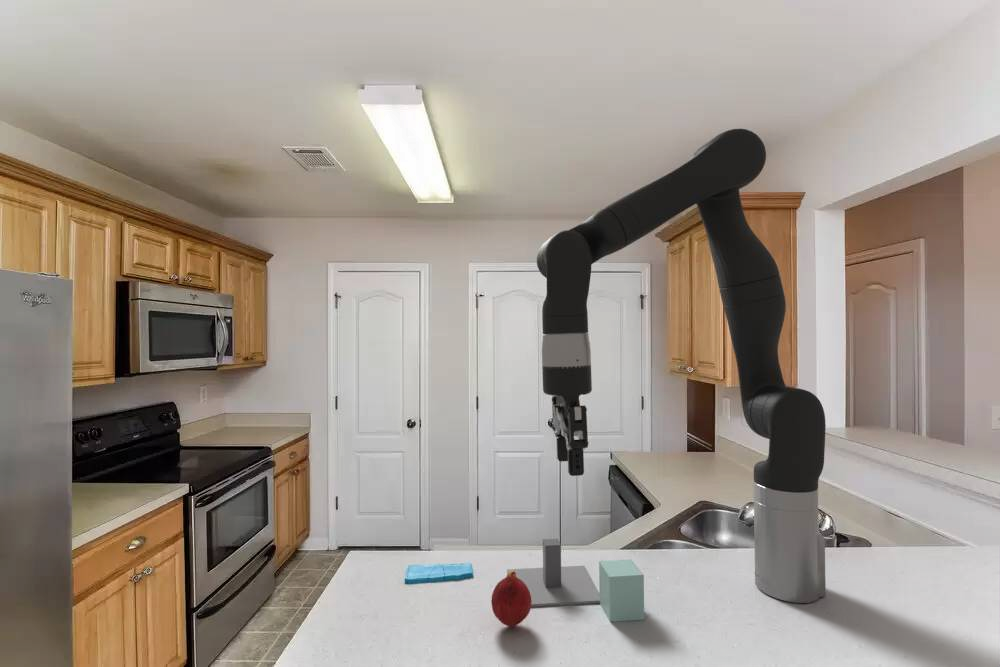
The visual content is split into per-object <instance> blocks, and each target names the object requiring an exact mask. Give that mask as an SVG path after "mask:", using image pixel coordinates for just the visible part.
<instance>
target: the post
mask: <svg viewBox="0 0 1000 667" xmlns="http://www.w3.org/2000/svg"><path fill="white" fill-rule="evenodd" d="M561 567H562V545H561V543H560V541H559V538H546V539H544V538H543V539H542V568H543V581H544V584H545V587H546V588H557V587H561Z"/></svg>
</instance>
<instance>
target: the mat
mask: <svg viewBox="0 0 1000 667" xmlns="http://www.w3.org/2000/svg"><path fill="white" fill-rule="evenodd" d="M585 566H586V565H568V566H567V565H566V566H561V587H557V588H546V587H545V584H544V581H543V567H532V568H531V567H529V568H528V567H526V568H509V569H508V568H507V569H506V572H507V574H508V572H509V571H511V570H513V571H515V572H516V577H517V578H519V579H521V580H522V581H523V582H524V583H525V584H526V586H527V587H528V589H529V592H530V595H531V601H532V602H531V608H534V607H552V606H569V605H570V606H571V605H588V604H589V605H591V604H600V591H599V590H598V588H597V586H596V585H595V582H594V581H593V579H592V577H591V576H590V574H589V572H588V570H587V568H586V567H585Z"/></svg>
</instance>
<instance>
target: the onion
mask: <svg viewBox="0 0 1000 667" xmlns="http://www.w3.org/2000/svg"><path fill="white" fill-rule="evenodd" d="M490 601H491V608H492V612H493V614H494V616H495V618H496V619H498V621H499V622H500V623H501V624H502V625H504V626H507V627H509V628H514V627H516V626H517V625H519V624H521V623H522V622H523V621H524V620H526V618H527V617H528V615H529V614H530V612H531V608H532V607H531V602H532V601H531V595H530V592H529V589H528V587H527V586H526V584H525V583H524V582H523V581H522V580H521V579H519V578H517V577H516V572H515V571H513V570H511V571H509V572H508V573H507V575H506V577H504V578H503V579H501V580H500V581H499V582H497V583H496V585H495V587H494V588H493V591H492V594H491V600H490Z"/></svg>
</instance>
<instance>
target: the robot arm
mask: <svg viewBox="0 0 1000 667" xmlns="http://www.w3.org/2000/svg"><path fill="white" fill-rule="evenodd" d="M766 159H767V150H766V147H765V144H764V142H763V140H762V139H761V137H760V136H759V135H758V134H756V133H755V132H754V131H751V130H749V129H745V128H733V129H729V130H726V131H723V132H721V133H719V134H717V135H716V136H715V137H713V138H712V139H710V140H709V141H708V142H706V143H705V144H703V145H702V146H701V147H699V148H698V149H697V150H696V151H694V153H693V154H692V156H691V157H690V159H689V161H687V162H685V163H683V165H681V166H679V167H677V168H676V169H674V170H672V171H671V172H669V173H667V174H666V175H663V176H661V177H659V178H658V179H655V180H654V181H652V182H650V183H648V184H646V185H645V186H642V187H640V188H638V189H636V190H635V191H632V192H631V193H628V194H627V195H625V196H623V197H621V198H619V199H617V200H615V201H613V202H612V203H610V204H608V205H606V206H605V207H602V208H601V209H600V210H598V211H596V212H595V213H594V214H592V215H591V216H589V218H588V219H586V220H584V221H583V222H581V223H579V224H578V225H576V226H574V227H571V228H570V229H568V230H567V229H566V230H561V231H559V232H557V233H555V234H553V235H552V236H551V237H549V239H547V240H546V241H545V242H543V244H542V245H541V247H539V250H538V252H537V254H536V255H537V256H536V266H537V269H538V270H539V273H540V274H541V275H542V276H543V277H544V278H546V296H545V298H544V300H543V302H542V303H543V304H542V307H541V308H542V310H541V320H542V322H541V323H542V325H541V326H542V342H541V366H542V367H541V369H542V370H541V371H542V374H541V375H542V391H543V393H544V394H545V395H548V396H551V404H552V405H551V407H552V430H553V435H554V436H555V438H556V459H557V461H558V462H567V470H568V471H567V473H568V474H569V475H570V476H572V477H575V476H576V477H577V476H578V477H579V476H583V475H584V474H585V465H584V464H585V461H584V460H585V459H584V450H585V449H587V448H588V447H589V439H588V420H587V419H588V418H587V417H588V416H587V412H588V408H587V406H586V405H581V402H580V396H583V395H584V396H585V395H589V394H590V393H591V392H592V390H593V382H592V380H593V379H592V358H591V357H592V355H591V354H592V353H591V352H592V351H591V342H590V337H589V336H590V335H589V317H588V316H589V315H588V314H589V313H588V305H587V304H588V297H589V292H590V286H591V283H590V282H591V275H592V265H593V264H595V263H596V262H598V261H599V260H601V259H602V258H604V257H608V256H609V255H612V254H615V253H616V252H619V251H621V250H622V249H624V248H626V247H628V246H629V245H631V244H634V243H635V242H637V241H638V240H640V239H641V238H643V237H645V236H647V235H649V234H650V233H652V232H653V231H655V230H656V229H658V228H660V227H661V226H663V225H664V224H665V223H666V222H668V221H670V220H671V219H674V218H675V217H677V216H679V214H681V213H682V212H685V211H686V210H688V209H689V208H691V207H693V206H696V208H697V209H698V210H697V211H698V213H699V215H700V218H701V221H702V224H703V227H704V231H705V233H706V237H707V241H708V245H709V251H710V255H711V258H712V263H713V265H714V269H715V274H716V279H717V280H716V281H717V284H718V285H717V286H718V289H719V294H720V298H721V302H722V307H723V310H724V313H725V317H726V322H727V326H728V330H729V335H730V338H731V343H732V344H731V345H732V348H733V352H734V356H735V360H736V367H737V373H738V374H737V375H738V380H739V381H738V382H739V390H740V391H739V392H740V399H741V407H742V413H743V417H744V419H745V422H746V424H747V426H748V427H749V429H750V430H751V431H752V432H754V433H755V434H757V436H759V437H762V438H764V439H768V442H769V443H768V444H769V445H768V456H767V458H766V459H765V460H760V461H759V462H756V463H755V464H754V467H753V513H754V514H753V519H754V522H753V524H754V525H753V526H754V527H753V528H754V530H753V532H754V536H753V537H754V581H755V582H754V584H755V586H756V588H758V590H760V591H761V592H762V593H764V594H766V595H767V596H770V597H773V598H775V599H778V600H781V601H785V602H790V603H797V604H806V603H808V604H809V603H814V602H816V601H818V600H819V598H821V597H823V598H824V597H826V596H827V595H826V591H827V588H826V585H827V584H826V538H825V536H824V534H821V533H820V532H819V531H820V529H819V528H820V527H819V526H820V525H819V524H820V523H819V522H820V519H819V517H820V516H819V478H820V476H821V474H822V473H823V469H824V465H825V451H826V448H825V447H826V429H827V428H826V414H825V411H824V407H823V405H822V403H821V401H820V399H819V398H818V397H817V396H816V394H814V393H812V392H811V391H809V390H807V389H803V388H798V387H791V386H787V385H786V382H785V380H784V377H783V373H782V369H781V364H780V361H779V360H780V359H779V350H778V349H779V342H780V337H781V333H782V329H783V326H784V321H785V316H786V309H787V308H786V307H787V305H786V297H785V296H786V295H785V291H784V287H783V282H782V279H781V278H782V277H781V274H780V271H779V268H778V264H777V263H776V261H775V259H774V257H773V256H772V254H771V252H770V251H769V249H768V248H767V247H766V245H764V244H763V243H762V241H761V239H760V238H759V237H758V236H757V235H756V234H755V232H754V230H752V229H751V226H750V225H749V224H748V221H747V219H746V216H745V213H744V208H743V204H742V201H741V195H740V190H741V189H742V188H744V187H747V186H748V185H750V184H751V183H752V182H753V181H755V179H756V178H758V176H759V175H760V174H761V172H762V171H763V169H764V167H765V165H766V164H765V163H766V161H767V160H766ZM575 437H578V439H575Z"/></svg>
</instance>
